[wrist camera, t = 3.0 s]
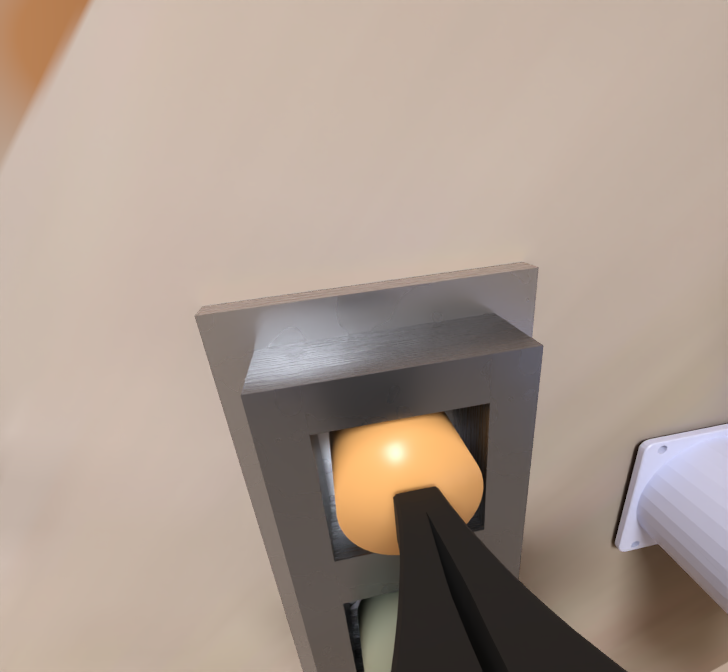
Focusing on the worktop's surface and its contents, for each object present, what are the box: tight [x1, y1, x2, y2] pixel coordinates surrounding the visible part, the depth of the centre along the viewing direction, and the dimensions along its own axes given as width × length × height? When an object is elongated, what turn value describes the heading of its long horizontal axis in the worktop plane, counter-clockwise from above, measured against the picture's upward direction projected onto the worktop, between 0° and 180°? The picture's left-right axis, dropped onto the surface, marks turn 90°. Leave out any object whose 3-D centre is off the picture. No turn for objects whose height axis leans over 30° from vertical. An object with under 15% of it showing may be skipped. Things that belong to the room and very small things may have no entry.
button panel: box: [195, 262, 543, 672], centre depth 17 cm, size 12×28×4 cm, turn 6°
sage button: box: [357, 591, 399, 672], centre depth 15 cm, size 5×5×3 cm
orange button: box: [329, 411, 483, 555], centre depth 13 cm, size 5×5×3 cm
